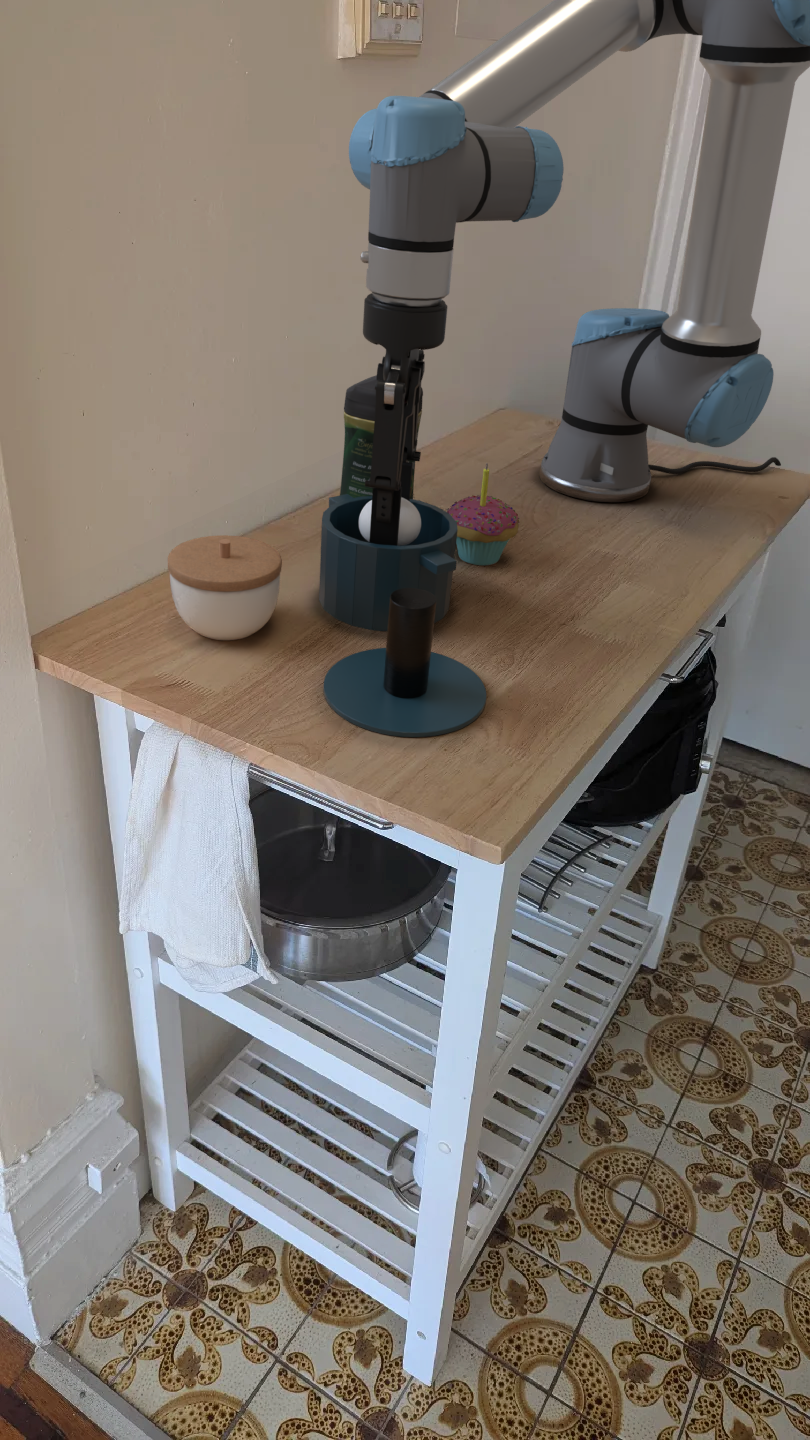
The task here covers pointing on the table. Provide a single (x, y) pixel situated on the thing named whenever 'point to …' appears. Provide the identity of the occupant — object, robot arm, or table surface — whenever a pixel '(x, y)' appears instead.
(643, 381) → the robot arm
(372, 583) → the pot
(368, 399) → the coffee jar
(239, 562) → the trinket box
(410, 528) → the garlic bulb
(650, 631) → the table surface
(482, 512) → the cupcake
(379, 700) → the lid
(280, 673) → the table surface
